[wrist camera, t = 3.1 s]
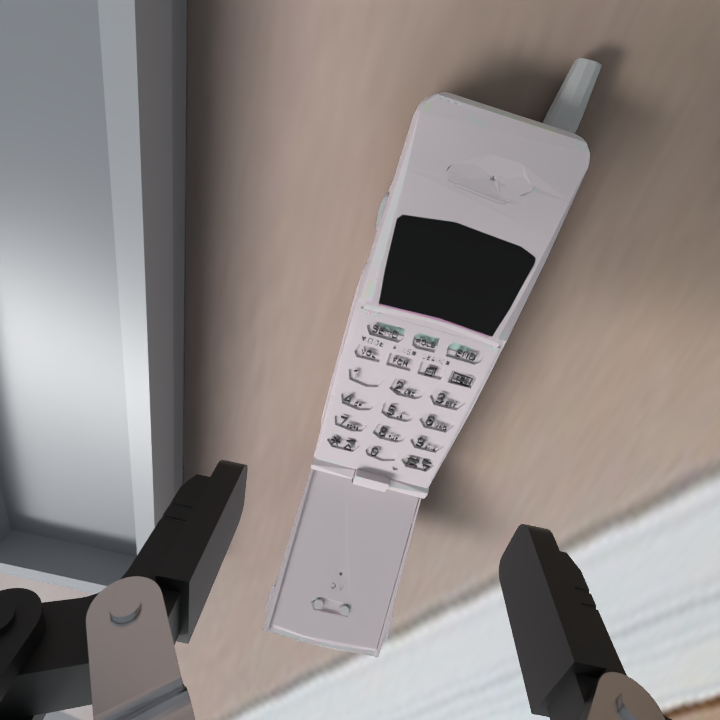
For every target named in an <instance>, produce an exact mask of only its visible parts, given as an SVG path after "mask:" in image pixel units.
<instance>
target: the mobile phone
mask: <svg viewBox="0 0 720 720" xmlns="http://www.w3.org/2000/svg"><path fill="white" fill-rule="evenodd" d="M601 66H602V65H601V64H599V63H598V62H595V61H592V60H589V59H584V58H579V59H577V60H575V61H574V63H573V65H572V67H571V69H570V71H569V73H568V75H567V76H566V78H565V80H564V82H563V84H562V86H561V88H560V90H559V92H558V93H557V95H556V97H555V99H554V101H553V103H552V105H551V107H550V109H549V110H548V112H547V114H546V117H545V119H544V121H543V123H541V122H538V121H534V120H531V119H528V118H525V117H522V116H519V115H516V114H513V113H510V112H507V111H504V110H501V109H498V108H495V107H492V106H488V105H485V104H482V103H479V102H476V101H473V100H470V99H467V98H464V97H461V96H458V95H455V94H452V93H448V92H440V93H437V94H433V95H430V96H428V97H427V98H425V99H424V100H423V101H422V102H421V103H420V104H419V105H418V107H417V109H416V111H415V113H414V115H413V118H412V122H411V125H410V128H409V131H408V134H407V138H406V141H405V144H404V147H403V150H402V153H401V157H400V160H399V163H398V166H397V169H396V173H395V176H394V179H393V182H392V184H391V186H390V188H389V191H388V193H387V194H386V195H385V196H384V198H383V200H382V202H381V205H380V208H379V211H378V215H377V222H376V228H377V233H376V236H375V239H374V243H373V246H372V249H371V252H370V255H369V259H368V262H366V264H365V266H364V268H363V271H362V274H361V277H360V280H359V284H358V287H357V290H356V293H355V296H354V300H353V304H352V307H351V311H350V314H349V318H348V322H347V325H346V329H345V333H344V336H343V340H342V344H341V347H340V351H339V355H338V358H337V362H336V366H335V369H334V373H333V377H332V380H331V384H330V388H329V392H328V396H327V399H326V403H325V407H324V411H323V415H322V420H321V423H322V426H321V430H320V434H319V438H318V442H317V446H316V450H315V453H314V460H313V462H312V465H311V471H310V474H309V477H308V481H307V484H306V487H305V490H304V493H303V497H302V500H301V503H300V506H299V509H298V513H297V516H296V519H295V522H294V525H293V529H292V532H291V535H290V538H289V542H288V545H287V548H286V552H285V555H284V558H283V562H282V565H281V568H280V572H279V575H278V578H277V581H276V584H275V585H273V586H272V587H271V590H270V593H269V596H268V600H267V603H266V607H265V613H267V612H268V613H267V617H266V621H265V624H264V628H263V630H265V631H267V632H268V631H269V632H273V633H276V634H279V635H282V636H285V637H288V638H292V639H295V640H298V641H301V642H305V643H309V644H313V645H318V646H322V647H326V648H331V649H336V650H342V651H348V652H354V653H359V654H365V655H371V656H375V657H378V656H379V653H380V650H381V646H382V643H383V642H385V641H386V639H387V636H388V633H389V629H390V626H391V622H392V618H393V616H392V614H391V613H392V609H393V606H394V602H395V598H396V594H397V590H398V586H399V582H400V578H401V575H402V571H403V567H404V563H405V559H406V555H407V551H408V548H409V544H410V540H411V536H412V532H413V528H414V524H415V521H416V517H417V513H418V509H419V505H420V501H421V498H423V499H424V498H425V497H426V496H427V495H428V491H429V486H430V484H431V482H432V480H433V479H434V477H435V475H436V473H437V471H438V470H439V468H440V466H441V464H442V462H443V461H444V459H445V457H446V455H447V453H448V452H449V450H450V448H451V446H452V444H453V443H454V441H455V439H456V437H457V435H458V434H459V432H460V430H461V428H462V426H463V425H464V423H465V421H466V419H467V417H468V416H469V414H470V412H471V410H472V408H473V406H474V404H475V402H476V400H477V398H478V396H479V395H480V393H481V391H482V389H483V387H484V385H485V383H486V381H487V379H488V377H489V375H490V373H491V371H492V369H493V367H494V365H495V363H496V361H497V359H498V357H499V355H500V353H501V351H502V349H503V347H504V345H505V343H506V342H507V340H508V338H509V336H510V334H511V332H512V330H513V328H514V325H515V323H516V321H517V319H518V317H519V315H520V313H521V311H522V309H523V307H524V305H525V303H526V301H527V299H528V297H529V295H530V293H531V290H532V288H533V286H534V284H535V282H536V280H537V278H538V276H539V274H540V272H541V270H542V268H543V266H544V264H545V262H546V260H547V257H548V255H549V253H550V251H551V249H552V246H553V244H554V242H555V240H556V238H557V235H558V233H559V231H560V229H561V226H562V224H563V222H564V220H565V218H566V215H567V213H568V211H569V209H570V207H571V204H572V202H573V200H574V198H575V196H576V193H577V191H578V189H579V187H580V184H581V182H582V180H583V178H584V176H585V173H586V171H587V169H588V167H589V162H590V152H589V149H588V146H587V143H586V142H585V140H584V139H583V138H582V137H580V136H578V135H576V134H575V133H576V131H577V128H578V126H579V124H580V122H581V119H582V117H583V114H584V111H585V109H586V106H587V103H588V101H589V98H590V96H591V93H592V90H593V88H594V85H595V82H596V80H597V77H598V74H599V72H600V69H601ZM419 498H420V499H419ZM418 499H419V502H418ZM417 503H418V506H417ZM416 506H417V509H416ZM415 510H416V513H415ZM414 513H415V516H414ZM413 517H414V520H413ZM412 520H413V523H412ZM274 587H275V588H274ZM272 594H273V595H272ZM271 598H272V599H271ZM270 601H271V602H270ZM269 605H270V606H269ZM268 608H269V610H268Z"/></svg>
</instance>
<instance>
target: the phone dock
mask: <svg viewBox="0 0 720 720" xmlns="http://www.w3.org/2000/svg"><path fill="white" fill-rule="evenodd" d="M186 75H187V0H0V573H3V574H7V575H12V576H16V577H21V578H25V579H30V580H35V581H39V582H44V583H48V584H53V585H58V586H62V587H67V588H71V589H76V590H80V591H85V592H90V593H94V594H97V593H99V592H101V591H102V590H103V589H104V588H106V587H107V586H108V585H110V584H112V583H114V582H115V581H118V580H119V579H121V578H122V576H123V575H124V574H125V573H126V572H127V570H128V569H129V568H130V566H131V564H132V563H133V561H134V560H135V558H136V557H137V555H138V553H139V552H140V550H141V549H142V547H143V546H144V544H145V542H146V541H147V539H148V538H149V536H150V534H151V533H152V531H153V530H154V528H155V527H156V525H157V523H158V522H159V520H160V519H162V516H163V514H164V512H165V511H166V509H167V508H168V506H170V504H171V501H172V500H173V498H174V497H175V495H176V493H177V492H178V490H179V489H180V487H181V486H182V485H183V402H184V293H185V184H186Z"/></svg>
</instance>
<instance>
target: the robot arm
mask: <svg viewBox="0 0 720 720" xmlns="http://www.w3.org/2000/svg"><path fill="white" fill-rule="evenodd" d="M246 478H247V465H244V464H239V463H234V462H230V461H225V460H220V461H219V463H218V464H217V466H216V468H215V470H214V472H213V473H212V475H211V477H206V476H202V475H196V476H194V477H193V478H192V479H190V480H189V481H188V482H186V483H185V484H184V485H182V486H181V487H180V489H179V490H178V492H177V493H176V495H175V497H174V498H173V500H172V501H171V504H170V506H168V508H167V509H166V511H165V512H164V514H163V516H162V519H160V520H159V522H158V523H157V525H156V527H155V528H154V530H153V531H152V533H151V534H150V536H149V538H148V539H147V541H146V542H145V544H144V546H143V547H142V549H141V550H140V552H139V553H138V555H137V557H136V558H135V560H134V561H133V563H132V564H131V566H130V568H129V569H128V570H127V572H126V573H125V574H124V575H123V576H122V578H121V579H119V580H118V581H115V582H114V583H112V584H110V585H108V586H107V587H106V588H104V589H103V590H102V591H101V592H99V593H97V594H94V595H91V596H88V597H83V598H77V599H69V600H61V601H53V602H44V603H41V600H40V598H39V596H38V595H37V594H36V593H34V592H33V591H31V590H28V589H24V588H12V589H6V590H2V591H0V720H43V718H44V716H45V715H46V713H50V712H55V711H60V710H65V709H70V708H75V707H80V706H85V705H91V704H92V706H93V718H94V720H195V717H194V712H193V708H192V704H191V700H190V697H189V693H188V690H187V688H186V687H185V686H184V684H183V681H182V678H181V674H180V669H179V665H178V660H177V656H176V652H175V647H174V645H175V643H176V641H177V642H183V643H189V641H190V638H191V636H192V634H193V631H194V629H195V626H196V624H197V622H198V619H199V617H200V614H201V612H202V610H203V607H204V605H205V603H206V600H207V598H208V595H209V593H210V591H211V588H212V586H213V583H214V581H215V579H216V576H217V574H218V571H219V569H220V567H221V564H222V562H223V559H224V557H225V555H226V552H227V550H228V547H229V545H230V543H231V540H232V538H233V535H234V533H235V531H236V528H237V526H238V523H239V520H240V517H241V514H242V510H243V505H244V498H245V488H246ZM499 579H500V583H501V587H502V592H503V596H504V600H505V604H506V608H507V612H508V617H509V621H510V625H511V629H512V633H513V637H514V642H515V646H516V650H517V654H518V658H519V662H520V667H521V671H522V675H523V679H524V683H525V687H526V691H527V696H528V700H529V704H530V708H531V712H532V714H536V715H541V716H547V717H550V720H671V719H670V718H668V717H666V716H665V715H663V714H662V712H661V710H660V708H659V706H658V705H657V703H656V702H655V701H654V699H653V698H652V697H651V696H650V694H649V693H648V692H647V691H646V690H645V689H644V688H643V687H642V686H641V685H639V684H638V683H637V682H636V681H634V680H633V679H631V678H629V677H628V676H627V675H626V673H625V671H624V669H623V666H622V664H621V662H620V659H619V657H618V655H617V653H616V650H615V648H614V646H613V643H612V641H611V639H610V637H609V634H608V632H607V630H606V627H605V625H604V623H603V621H602V618H601V616H600V614H599V611H598V610H596V605H595V602H594V600H593V598H592V595H591V594H589V588H588V586H587V584H586V582H585V579H584V577H583V575H582V572H581V570H580V569H579V568H578V567H577V565H576V564H575V563H574V562H573V560H572V559H571V558H570V557H569V555H568V554H567V553H565V552H561V551H559V548H558V546H557V543H556V541H555V538H554V536H553V534H552V532H551V531H550V530H548V529H544V528H539V527H535V526H530V525H525V524H521V525H520V526H519V527H518V528H517V530H516V532H515V534H514V535H513V537H512V539H511V541H510V543H509V544H508V546H507V548H506V550H505V552H504V553H503V555H502V557H501V560H500V565H499Z"/></svg>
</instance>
